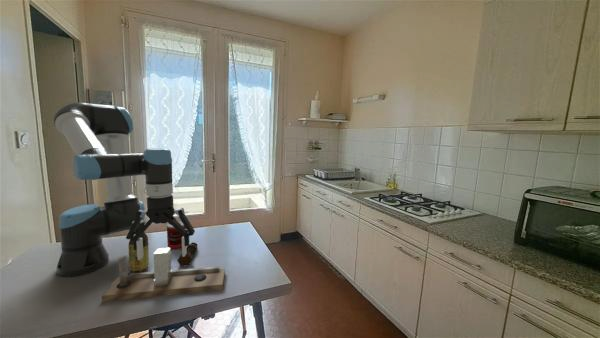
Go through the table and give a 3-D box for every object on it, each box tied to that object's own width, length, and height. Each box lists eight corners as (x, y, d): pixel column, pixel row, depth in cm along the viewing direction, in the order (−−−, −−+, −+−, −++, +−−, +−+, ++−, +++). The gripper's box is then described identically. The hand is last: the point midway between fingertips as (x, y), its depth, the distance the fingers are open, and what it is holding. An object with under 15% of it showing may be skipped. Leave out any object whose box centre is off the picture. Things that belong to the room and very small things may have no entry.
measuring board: (102, 301, 75) (99, 265, 73) (118, 282, 84) (116, 250, 83) (222, 289, 83) (222, 257, 81) (224, 273, 92) (224, 244, 91)
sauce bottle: (125, 273, 90) (122, 222, 88) (141, 265, 96) (139, 217, 93) (137, 277, 88) (135, 225, 85) (153, 268, 94) (151, 220, 91)
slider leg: (153, 286, 79) (152, 255, 78) (160, 276, 85) (158, 247, 84) (167, 285, 80) (165, 254, 79) (172, 275, 86) (171, 246, 85)
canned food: (180, 241, 118) (179, 219, 117) (189, 245, 114) (188, 223, 112) (164, 246, 112) (163, 224, 111) (172, 251, 108) (172, 228, 106)
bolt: (195, 252, 112) (186, 269, 97) (185, 248, 110) (175, 264, 96) (202, 242, 112) (194, 256, 97) (192, 237, 110) (182, 251, 96)
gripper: (110, 199, 72) (115, 265, 75) (198, 197, 78) (199, 258, 80) (122, 193, 80) (126, 254, 82) (202, 192, 85) (203, 248, 88)
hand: (162, 256), depth 81 cm, fingers open, 13 cm apart
